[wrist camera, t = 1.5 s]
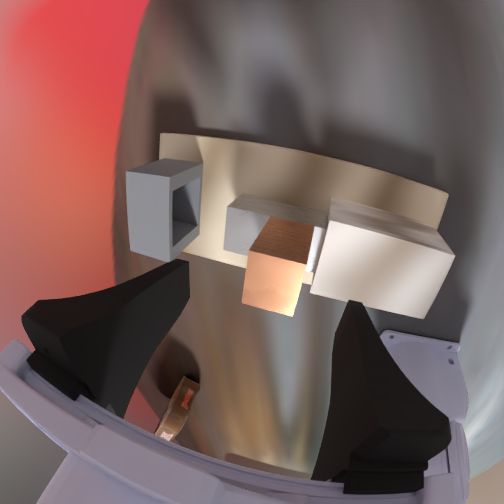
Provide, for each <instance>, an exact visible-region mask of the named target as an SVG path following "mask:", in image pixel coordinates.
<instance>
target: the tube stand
mask: <svg viewBox="0 0 504 504" xmlns="http://www.w3.org/2000/svg"><path fill="white" fill-rule="evenodd" d="M163 158H168V159H176V160H184V161H192V162H199V163H204V164H203V178H202V193H201V211H200V233H199V236H198V237H197V238H195V239H194V240H193V241H192V242H191V243H190V244H189V245H188V246H187V247H186V248H185V249H184V250H183V252H187V253H191V254H194V255H198V256H202V257H206V258H209V259H213V260H217V261H220V262H224V263H228V264H232V265H236V266H239V267H243V268H246V266H247V259H248V256H245V255H241V254H237V253H233V252H229V251H225V250H223V246H224V234H225V223H226V212H227V206H228V205H229V204H230V203H232V202H233V201H234V200H235V199H236V198H237V197H239V196H240V195H241V194H242V193H243V194H248V195H253V196H258V197H262V198H267V199H272V200H276V201H281V202H286V203H290V204H294V205H299V206H303V207H307V208H312V209H316V210H320V211H324V212H328V213H329V217H328V227H327V231H326V235H325V239H324V242H323V246H322V250H321V254H320V257H319V261H318V265H317V268H316V272H315V273H313V272H309V271H305V274H304V277H303V281H302V283H306V284H310V285H311V289H310V293H313V294H317V295H321V296H325V297H329V298H333V299H337V300H342V301H346V302H348V300H354V301H358V302H362V303H363V305H364V306H367V307H371V308H375V309H380V310H384V311H389V312H393V313H397V314H402V315H406V316H411V317H415V318H420V319H424V317H425V316H426V314H427V312H428V310H429V308H430V307H431V305H432V303H433V301H434V299H435V297H436V295H437V294H438V292H439V290H440V288H441V286H442V284H443V282H444V280H445V278H446V275H447V273H448V271H449V269H450V267H451V265H452V262H453V260H454V258H455V255H454V253H453V252H452V251H451V249H450V248H449V246H448V245H447V244H446V242H445V241H444V240H443V238H442V237H441V236H440V234H439V233H438V232H437V229H438V226H439V223H440V220H441V218H442V215H443V212H444V209H445V206H446V202H447V199H448V196H449V194H448V193H446V192H444V191H441V190H439V189H436V188H433V187H430V186H428V185H425V184H422V183H419V182H416V181H413V180H410V179H407V178H404V177H401V176H398V175H395V174H391V173H388V172H385V171H381V170H378V169H374V168H371V167H367V166H364V165H360V164H356V163H353V162H349V161H345V160H341V159H337V158H332V157H328V156H324V155H319V154H315V153H310V152H305V151H300V150H295V149H290V148H285V147H280V146H274V145H268V144H262V143H256V142H249V141H242V140H235V139H227V138H219V137H210V136H200V135H189V134H177V133H160V150H159V160H160V159H163Z"/></svg>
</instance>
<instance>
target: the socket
mask: <svg viewBox="0 0 504 504" xmlns="http://www.w3.org/2000/svg"><path fill="white" fill-rule="evenodd" d="M203 164H204V163H199V162H192V161H184V160H176V159H168V158H163V159H160V160H157V161H154V162H151V163H148V164H145V165H142V166H139V167H136V168H133V169H131V170H128V171H126V193H127V213H128V227H129V239H130V249H131V251H133V252H137V253H140V254H143V255H146V256H150V257H153V258H156V259H159V260H163V261H166V262H170V261H172V260H173V259H174V258H175V257H176V256H177V255H179V254H180V253H181V252H182V251H183V250H184V249H185V248H186V247H187V246H188V245H189V244H190V243H191V242H192V241H193V240H194V239H195V238H197V237H198V236H199V233H200V211H201V193H202V178H203Z"/></svg>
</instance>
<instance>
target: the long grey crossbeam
mask: <svg viewBox="0 0 504 504" xmlns="http://www.w3.org/2000/svg"><path fill="white" fill-rule="evenodd" d="M328 217H329V213H328V212H324V211H320V210H316V209H312V208H307V207H303V206H299V205H294V204H290V203H286V202H281V201H276V200H272V199H267V198H262V197H258V196H253V195H248V194H243V193H242V194H241V195H240V196H239V197H237V198H236V199H235V200H234V201H233V202H232V203H230V204H229V205H228V206H227V212H226V223H225V234H224V246H223V250H225V251H229V252H233V253H237V254H241V255H245V256H248V259H247V266H246V274H245V282H244V289H243V297H242V303H244V304H248V305H251V306H255V307H258V308H262V309H266V310H269V311H273V312H277V313H281V314H285V315H288V316H292V317H293V313H294V310H295V306H296V303H297V299H298V296H299V292H300V288H301V285H302V281H303V277H304V274H305V271H309V272H313V273H315V272H316V268H317V265H318V261H319V257H320V254H321V250H322V246H323V242H324V239H325V235H326V231H327V227H328Z"/></svg>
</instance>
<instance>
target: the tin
mask: <svg viewBox="0 0 504 504" xmlns="http://www.w3.org/2000/svg"><path fill="white" fill-rule="evenodd" d="M199 390H200V385H199V384H198V383H196V382H194V381H192V380H190V379H188V378H186V376H183V378H182V380H181V382H180V383H179V385H178V387H177V389H176V390H175V392H174V394H173V396H172V397H171V400H170V401H169V403H168V405H167V407H166V409H165V412H164V414H163V416H162V418H161V420H160V422H159V424H158V427H157V428H156V430H155V432H154V435H156V436H158V437H160V438H163V439H165V440H167V441H170V442H171V441H172V440H173V439H174V437H175V436H176V435H177V434H178V433H179V432H180V430H181V429H182V427H183V426H184V424H185V422H186V420H187V418H188V416H189V414H190V410H191V406H192V404H193V401H194V399H195V397H196V394H197V393H198V392H199Z"/></svg>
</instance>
